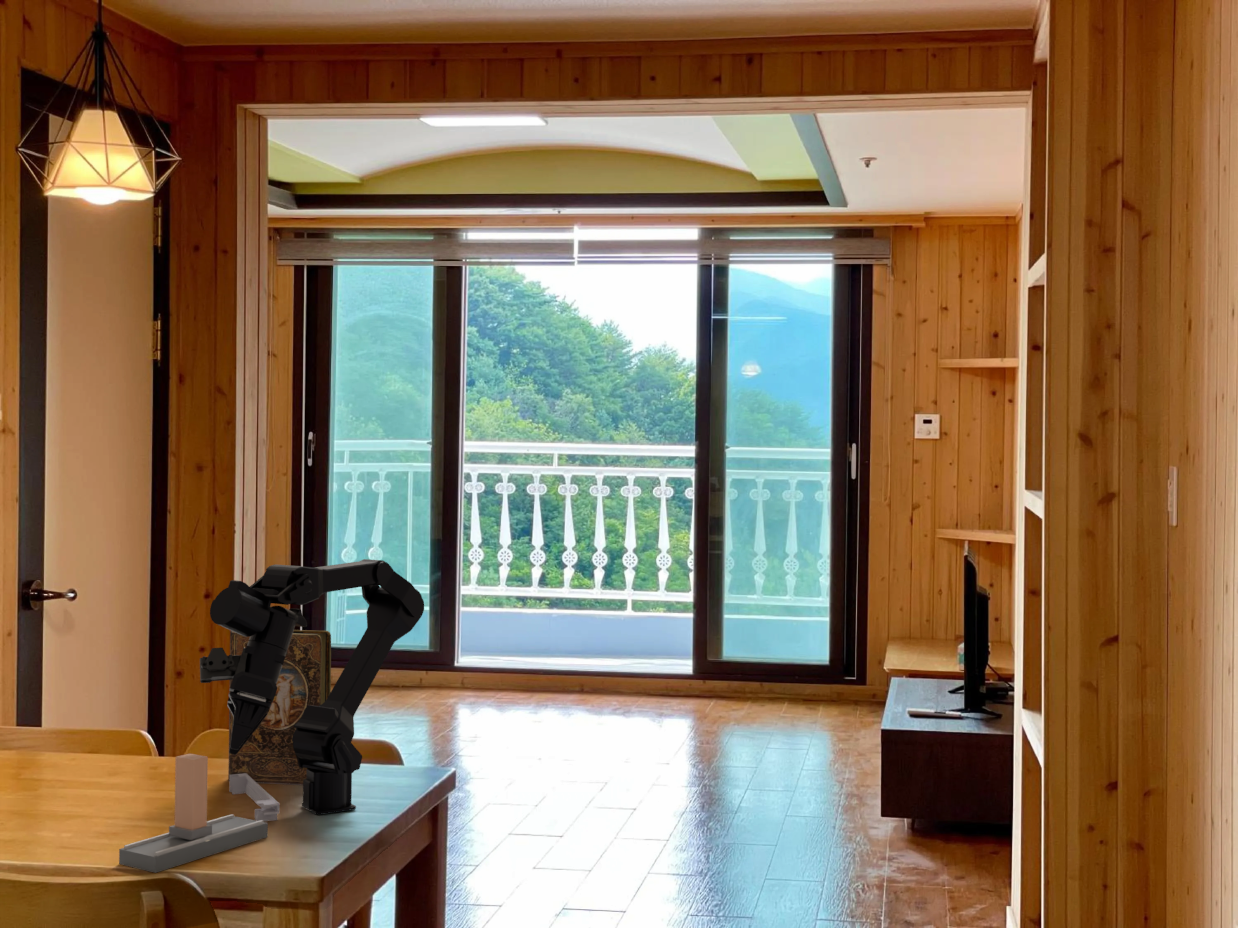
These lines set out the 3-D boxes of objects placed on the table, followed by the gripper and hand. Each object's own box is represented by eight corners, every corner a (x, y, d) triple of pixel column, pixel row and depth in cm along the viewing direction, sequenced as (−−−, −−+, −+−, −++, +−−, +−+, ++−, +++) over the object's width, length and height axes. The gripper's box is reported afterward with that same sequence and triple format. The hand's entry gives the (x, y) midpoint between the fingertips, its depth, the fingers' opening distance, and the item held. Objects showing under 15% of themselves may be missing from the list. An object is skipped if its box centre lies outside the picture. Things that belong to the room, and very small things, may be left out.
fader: (189, 829, 187) (190, 752, 187) (211, 833, 185) (213, 756, 185) (169, 834, 184) (170, 756, 184) (191, 839, 182) (192, 760, 182)
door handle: (227, 793, 218) (227, 774, 218) (245, 791, 220) (246, 773, 220) (259, 825, 199) (259, 805, 199) (279, 823, 201) (279, 803, 201)
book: (223, 781, 225) (225, 632, 225) (236, 774, 230) (238, 628, 230) (319, 785, 223) (321, 634, 223) (329, 777, 229) (331, 630, 229)
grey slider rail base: (232, 829, 196) (232, 812, 196) (267, 836, 193) (267, 819, 193) (119, 863, 179) (119, 845, 179) (155, 872, 175) (155, 854, 175)
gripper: (212, 641, 204) (177, 742, 199) (213, 620, 187) (175, 730, 182) (284, 661, 207) (252, 761, 201) (292, 642, 189) (256, 752, 184)
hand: (233, 751), depth 192 cm, fingers open, 9 cm apart
